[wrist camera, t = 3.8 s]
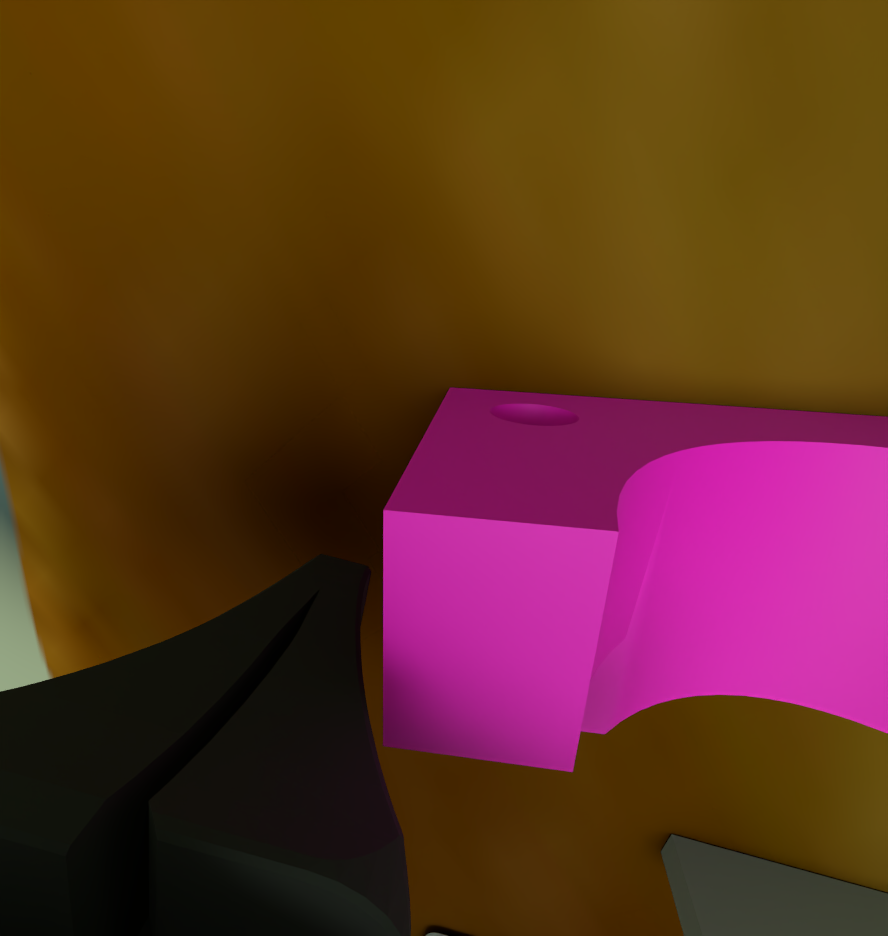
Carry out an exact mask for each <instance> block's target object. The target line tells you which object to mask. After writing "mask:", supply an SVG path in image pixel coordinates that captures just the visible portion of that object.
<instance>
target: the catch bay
mask: <svg viewBox="0 0 888 936" xmlns="http://www.w3.org/2000/svg"><path fill="white" fill-rule="evenodd" d="M661 854H662V858H663V861H664V865H665V869H666V872H667V876H668V879H669V883H670V887H671V890H672V894H673V897H674V901H675V905H676V908H677V912H678V915H679V919H680V923H681V926H682V930H683V933H684V936H888V894H887V893H883V892H880V891H876V890H873V889H869V888H865V887H862V886H858V885H854V884H851V883H847V882H843V881H840V880H836V879H833V878H829V877H825V876H822V875H818V874H814V873H811V872H807V871H803V870H800V869H796V868H793V867H789V866H785V865H782V864H778V863H774V862H771V861H767V860H763V859H760V858H756V857H752V856H749V855H745V854H742V853H738V852H734V851H731V850H727V849H723V848H720V847H716V846H712V845H709V844H705V843H702V842H698V841H694V840H691V839H687V838H683V837H680V836H676V835H672V834H671V836H670V838H669V839H668V841H667V842H666V844H665V846H664V847H663V849H662V851H661Z"/></svg>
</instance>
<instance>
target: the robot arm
mask: <svg viewBox="0 0 888 936" xmlns="http://www.w3.org/2000/svg"><path fill="white" fill-rule="evenodd" d="M370 575H371V571H370V569H369V568H368V566H366V565H362V564H358V563H354V562H350V561H346V560H343V559H339V558H335V557H331V556H327V555H323V554H320V555H319V556H317V557H315V558H314V559H312V560H310V561H309V562H307V563H306V564H304V565H303V566H301V567H300V568H298V569H297V570H295V571H294V572H292V573H291V574H289V575H288V576H286V577H285V578H283V579H282V580H280V581H278V582H277V583H275V584H274V585H272V586H270V587H269V588H267V589H265V590H264V591H262V592H261V593H259V594H257V595H256V596H254V597H252V598H251V599H249V600H247V601H245V602H243V603H242V604H240V605H238V606H236V607H234V608H232V609H231V610H229V611H227V612H225V613H223V614H221V615H220V616H218V617H216V618H214V619H212V620H210V621H208V622H206V623H204V624H202V625H200V626H198V627H195V628H193V629H191V630H189V631H186V632H184V633H182V634H180V635H177V636H175V637H173V638H170V639H168V640H165V641H163V642H161V643H158V644H155V645H152V646H150V647H147V648H144V649H141V650H139V651H136V652H133V653H131V654H128V655H125V656H122V657H120V658H117V659H114V660H111V661H109V662H106V663H102V664H99V665H96V666H93V667H90V668H87V669H83V670H80V671H77V672H74V673H70V674H67V675H63V676H60V677H56V678H52V679H49V680H45V681H42V682H38V683H35V684H30V685H27V686H23V687H19V688H15V689H10V690H6V691H1V692H0V936H411V920H410V899H409V887H408V876H407V866H406V858H405V849H404V838H403V834H402V831H401V828H400V825H399V822H398V820H397V817H396V814H395V811H394V808H393V805H392V802H391V799H390V796H389V793H388V790H387V787H386V784H385V780H384V777H383V773H382V770H381V767H380V763H379V760H378V755H377V751H376V747H375V742H374V738H373V734H372V729H371V725H370V721H369V716H368V710H367V704H366V698H365V691H364V683H363V675H362V664H361V646H360V626H361V621H362V616H363V611H364V606H365V601H366V595H367V590H368V585H369V580H370ZM426 936H447V935H444V934H440V933H435V932H432V933H428V934H427V935H426Z"/></svg>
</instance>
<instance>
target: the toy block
mask: <svg viewBox="0 0 888 936" xmlns="http://www.w3.org/2000/svg"><path fill="white" fill-rule="evenodd" d="M700 695H741V696H750V697H759V698H767V699H773V700H778V701H783V702H788V703H794V704H798V705H801V706H805V707H809V708H813V709H817V710H821V711H824V712H828V713H831V714H834V715H837V716H840V717H843V718H847V719H850V720H853V721H856V722H858V723H861V724H864V725H866V726H869V727H872V728H874V729H877V730H880V731H882V732H885V733H888V417H884V416H869V415H854V414H839V413H824V412H809V411H794V410H779V409H765V408H750V407H735V406H720V405H705V404H690V403H675V402H660V401H645V400H631V399H616V398H601V397H586V396H571V395H556V394H541V393H526V392H512V391H497V390H482V389H467V388H452V387H450V388H449V390H448V392H447V394H446V396H445V398H444V399H443V401H442V403H441V405H440V407H439V409H438V411H437V412H436V414H435V416H434V418H433V420H432V422H431V423H430V425H429V427H428V429H427V431H426V433H425V434H424V436H423V438H422V440H421V442H420V444H419V445H418V447H417V449H416V451H415V453H414V455H413V456H412V458H411V460H410V462H409V464H408V466H407V468H406V469H405V471H404V473H403V475H402V477H401V479H400V480H399V482H398V484H397V486H396V488H395V490H394V491H393V493H392V495H391V497H390V499H389V501H388V502H387V504H386V506H385V508H384V510H383V746H387V747H394V748H402V749H409V750H416V751H423V752H431V753H438V754H445V755H452V756H460V757H467V758H474V759H481V760H489V761H496V762H503V763H511V764H518V765H525V766H532V767H540V768H547V769H554V770H561V771H569V772H573V767H574V762H575V757H576V752H577V747H578V741H579V736H580V731H584V732H592V733H600V734H606V733H607V732H608V731H609V730H611V729H612V728H613V727H614V726H616V725H617V724H618V723H619V722H621V721H622V720H624V719H626V718H627V717H629V716H631V715H633V714H634V713H636V712H638V711H640V710H643V709H645V708H648V707H650V706H653V705H655V704H658V703H662V702H666V701H669V700H673V699H678V698H684V697H691V696H700Z"/></svg>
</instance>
